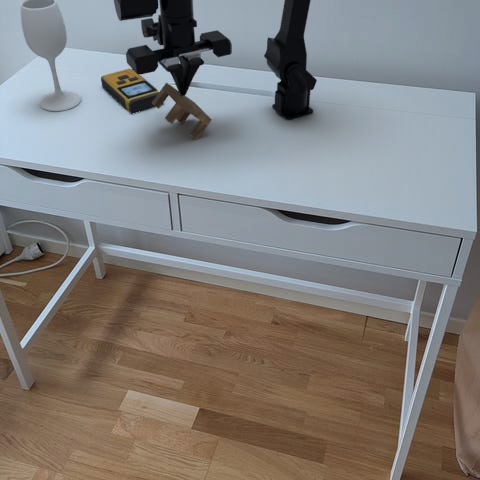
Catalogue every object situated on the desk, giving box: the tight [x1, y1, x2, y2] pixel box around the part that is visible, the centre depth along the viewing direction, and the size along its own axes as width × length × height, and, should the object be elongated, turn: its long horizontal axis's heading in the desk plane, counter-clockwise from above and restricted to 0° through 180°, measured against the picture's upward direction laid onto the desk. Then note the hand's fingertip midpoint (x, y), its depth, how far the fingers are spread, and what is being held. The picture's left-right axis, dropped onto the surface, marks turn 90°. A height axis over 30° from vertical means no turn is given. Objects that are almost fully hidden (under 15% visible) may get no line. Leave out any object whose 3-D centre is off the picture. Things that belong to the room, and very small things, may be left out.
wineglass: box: [20, 0, 82, 112], centre depth 120 cm, size 9×9×21 cm
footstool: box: [152, 82, 212, 141], centre depth 114 cm, size 5×8×8 cm
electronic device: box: [100, 68, 165, 115], centre depth 129 cm, size 8×16×3 cm, turn 33°
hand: (182, 94), depth 112 cm, fingers closed
